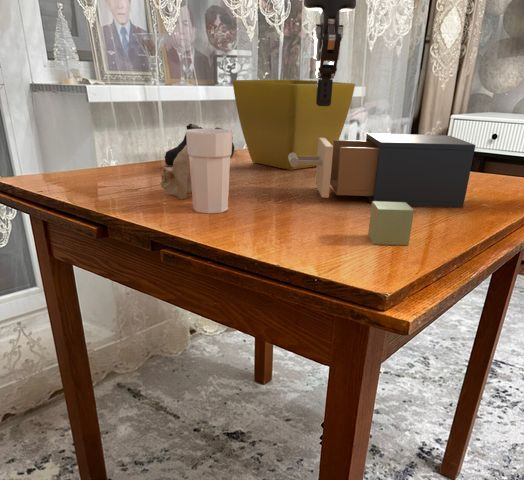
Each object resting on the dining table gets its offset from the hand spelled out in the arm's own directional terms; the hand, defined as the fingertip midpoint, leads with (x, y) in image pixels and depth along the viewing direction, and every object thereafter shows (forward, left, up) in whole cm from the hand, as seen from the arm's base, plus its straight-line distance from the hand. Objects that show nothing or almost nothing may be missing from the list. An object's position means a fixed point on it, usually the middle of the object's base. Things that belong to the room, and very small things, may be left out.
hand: (323, 105), depth 83 cm
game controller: (+22, -27, -14) cm, 38 cm away
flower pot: (+3, -36, -14) cm, 39 cm away
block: (-7, +23, -14) cm, 28 cm away
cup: (+17, +9, -14) cm, 24 cm away
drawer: (-5, -3, -13) cm, 14 cm away
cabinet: (-16, -3, -14) cm, 22 cm away
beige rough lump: (+23, -1, -14) cm, 27 cm away
